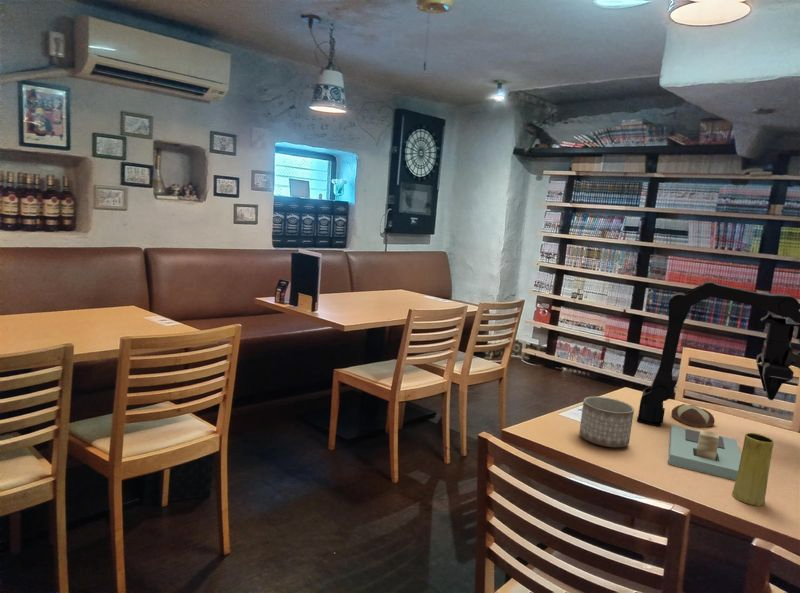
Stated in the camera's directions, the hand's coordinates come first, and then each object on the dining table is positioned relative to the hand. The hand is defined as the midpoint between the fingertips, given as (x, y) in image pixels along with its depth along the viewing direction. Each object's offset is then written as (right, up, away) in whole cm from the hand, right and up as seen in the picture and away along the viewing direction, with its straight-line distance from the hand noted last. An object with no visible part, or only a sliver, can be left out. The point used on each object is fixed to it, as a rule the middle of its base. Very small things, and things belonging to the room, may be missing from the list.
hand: (768, 395), depth 149 cm
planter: (-47, -12, -4) cm, 49 cm away
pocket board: (-23, -14, -8) cm, 28 cm away
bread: (-11, -12, +18) cm, 24 cm away
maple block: (-25, -15, -13) cm, 32 cm away
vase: (-25, -17, -30) cm, 43 cm away
